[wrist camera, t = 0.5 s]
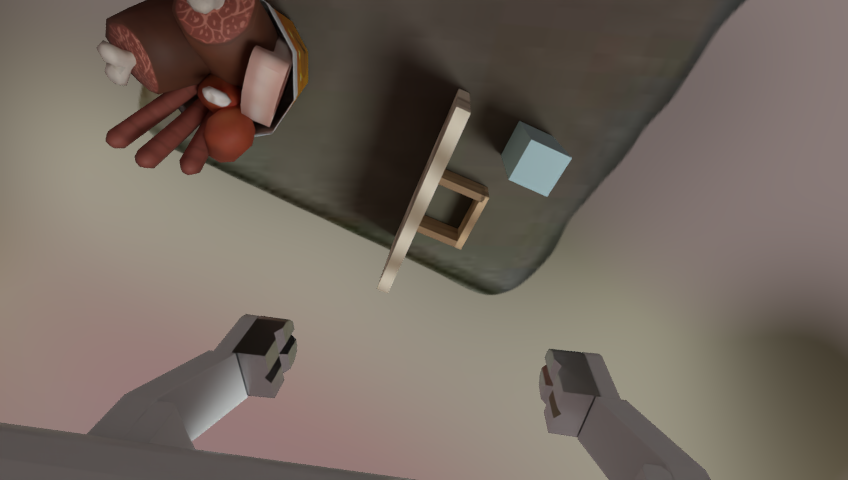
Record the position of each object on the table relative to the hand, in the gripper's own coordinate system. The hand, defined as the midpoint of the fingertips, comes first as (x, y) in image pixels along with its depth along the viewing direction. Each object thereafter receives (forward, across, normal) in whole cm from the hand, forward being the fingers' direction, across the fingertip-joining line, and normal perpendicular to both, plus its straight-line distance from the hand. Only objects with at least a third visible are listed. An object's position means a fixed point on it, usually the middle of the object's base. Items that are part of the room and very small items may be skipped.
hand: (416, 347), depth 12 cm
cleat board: (+42, -1, +10) cm, 43 cm away
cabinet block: (+42, -10, +4) cm, 43 cm away
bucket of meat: (+42, +25, -4) cm, 49 cm away
